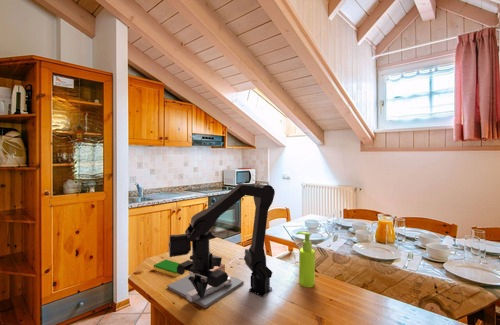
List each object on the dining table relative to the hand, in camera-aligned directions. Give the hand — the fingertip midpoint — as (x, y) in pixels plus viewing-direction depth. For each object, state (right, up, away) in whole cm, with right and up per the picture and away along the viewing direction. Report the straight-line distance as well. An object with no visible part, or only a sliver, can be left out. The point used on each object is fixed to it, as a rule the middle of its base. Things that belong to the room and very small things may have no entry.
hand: (201, 297), depth 88 cm
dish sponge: (-18, -2, +25) cm, 31 cm away
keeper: (+2, 0, +16) cm, 16 cm away
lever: (+2, -1, +6) cm, 6 cm away
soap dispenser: (+38, -2, +14) cm, 40 cm away
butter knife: (+7, -1, +30) cm, 31 cm away
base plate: (-1, -2, +12) cm, 12 cm away
